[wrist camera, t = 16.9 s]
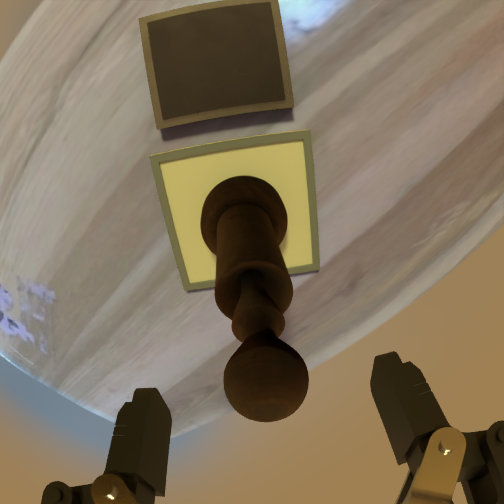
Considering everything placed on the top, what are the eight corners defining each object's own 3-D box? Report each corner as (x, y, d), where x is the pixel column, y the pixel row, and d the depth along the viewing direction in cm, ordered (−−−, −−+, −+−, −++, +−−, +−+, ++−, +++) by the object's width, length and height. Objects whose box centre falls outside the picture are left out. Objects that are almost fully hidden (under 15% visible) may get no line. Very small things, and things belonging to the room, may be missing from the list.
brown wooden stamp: (257, 263, 28) (291, 462, 12) (188, 231, 26) (145, 431, 10) (298, 198, 25) (403, 370, 9) (226, 159, 23) (226, 306, 7)
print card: (308, 129, 23) (310, 130, 22) (318, 266, 29) (319, 269, 28) (151, 155, 23) (149, 156, 22) (185, 287, 29) (184, 290, 28)
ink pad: (275, -1, 18) (277, -6, 17) (291, 106, 22) (294, 107, 21) (142, 21, 18) (138, 17, 17) (159, 128, 22) (156, 130, 21)
